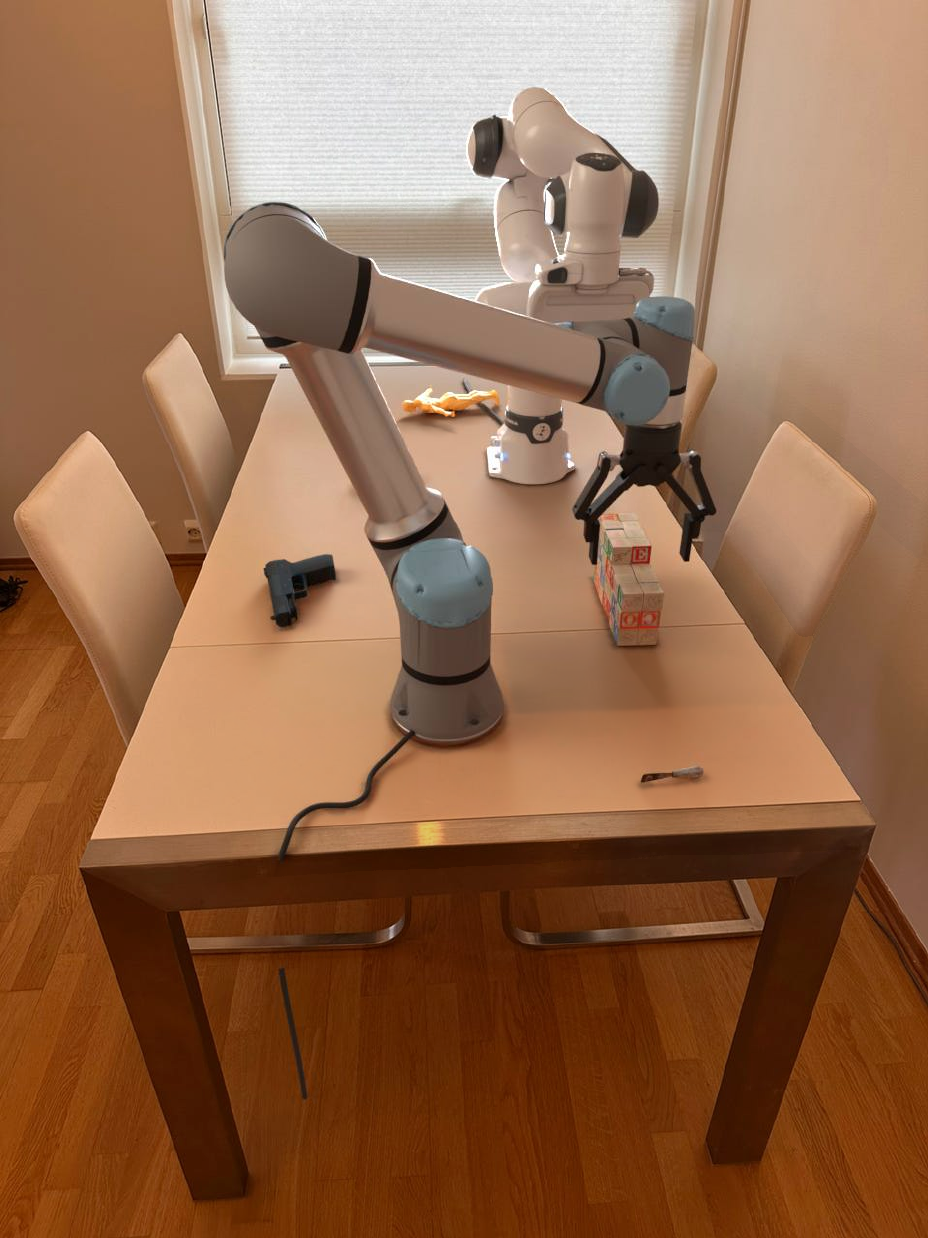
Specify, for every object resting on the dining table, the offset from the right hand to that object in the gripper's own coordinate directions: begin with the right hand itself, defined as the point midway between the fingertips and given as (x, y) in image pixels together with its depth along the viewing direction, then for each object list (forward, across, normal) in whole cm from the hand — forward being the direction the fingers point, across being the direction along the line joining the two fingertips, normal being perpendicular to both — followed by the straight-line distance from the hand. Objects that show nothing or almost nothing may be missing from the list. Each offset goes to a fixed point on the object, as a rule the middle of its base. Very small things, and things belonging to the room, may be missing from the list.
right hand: (585, 355), depth 150 cm
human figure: (+33, +20, -70) cm, 80 cm away
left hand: (+20, -3, +35) cm, 41 cm away
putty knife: (+33, -1, +69) cm, 76 cm away
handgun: (+33, +48, +22) cm, 62 cm away
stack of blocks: (+33, -4, +29) cm, 44 cm away
